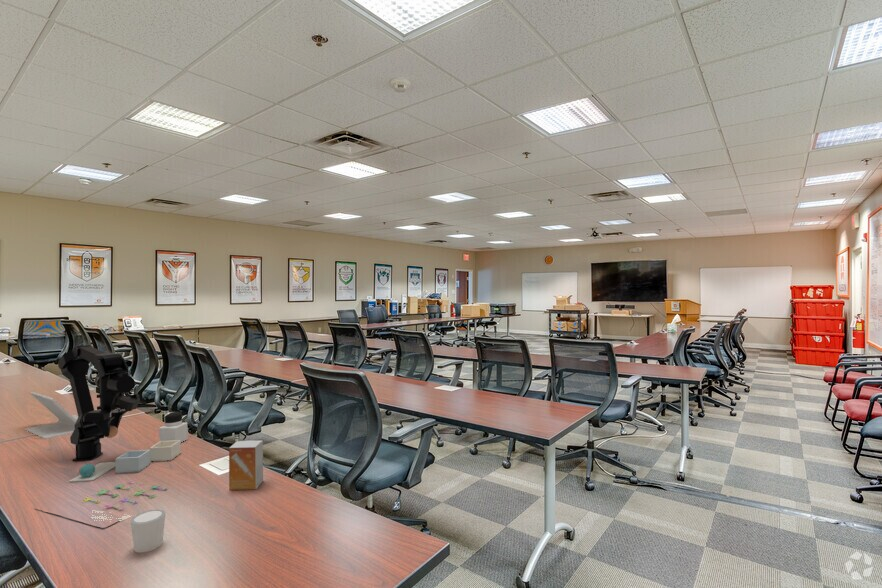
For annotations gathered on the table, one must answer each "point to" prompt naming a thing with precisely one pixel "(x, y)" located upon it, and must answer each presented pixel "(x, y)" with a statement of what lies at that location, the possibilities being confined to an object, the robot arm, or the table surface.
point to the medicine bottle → (173, 428)
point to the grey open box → (133, 461)
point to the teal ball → (87, 470)
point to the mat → (96, 472)
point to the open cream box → (165, 450)
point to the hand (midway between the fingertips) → (110, 434)
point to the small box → (245, 465)
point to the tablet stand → (57, 428)
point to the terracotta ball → (113, 431)
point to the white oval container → (148, 530)
